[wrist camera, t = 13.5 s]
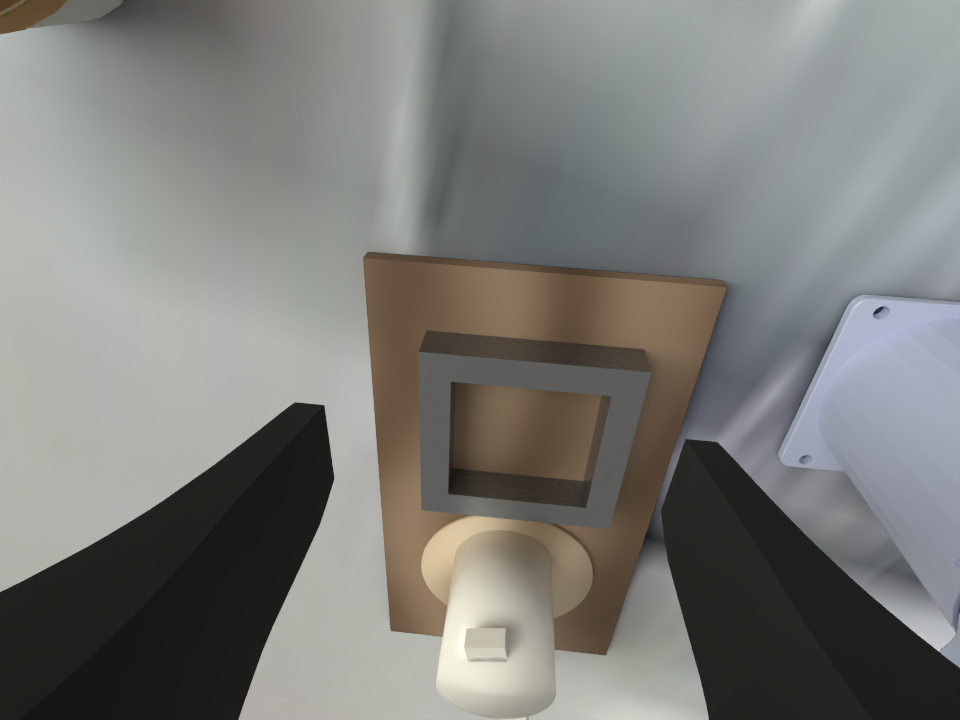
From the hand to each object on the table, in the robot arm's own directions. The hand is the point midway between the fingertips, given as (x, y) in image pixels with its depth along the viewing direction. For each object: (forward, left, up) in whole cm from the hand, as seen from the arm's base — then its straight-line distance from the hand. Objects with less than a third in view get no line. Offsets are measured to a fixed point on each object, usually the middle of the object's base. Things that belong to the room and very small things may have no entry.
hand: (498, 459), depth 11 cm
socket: (-1, +7, -10) cm, 12 cm away
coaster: (-1, +17, -10) cm, 20 cm away
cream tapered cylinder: (-1, +18, -10) cm, 20 cm away
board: (-1, +12, -10) cm, 16 cm away
